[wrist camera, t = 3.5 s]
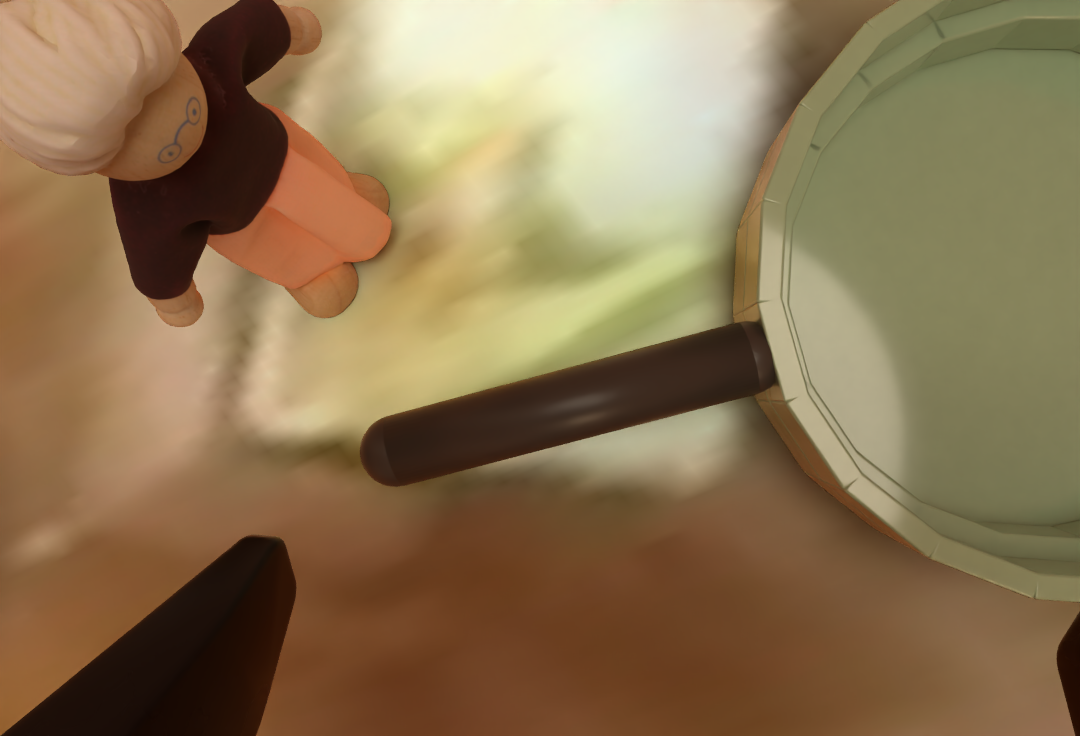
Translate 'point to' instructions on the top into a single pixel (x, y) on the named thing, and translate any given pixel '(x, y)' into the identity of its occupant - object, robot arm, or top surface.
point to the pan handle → (569, 405)
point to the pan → (933, 285)
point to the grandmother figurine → (189, 144)
